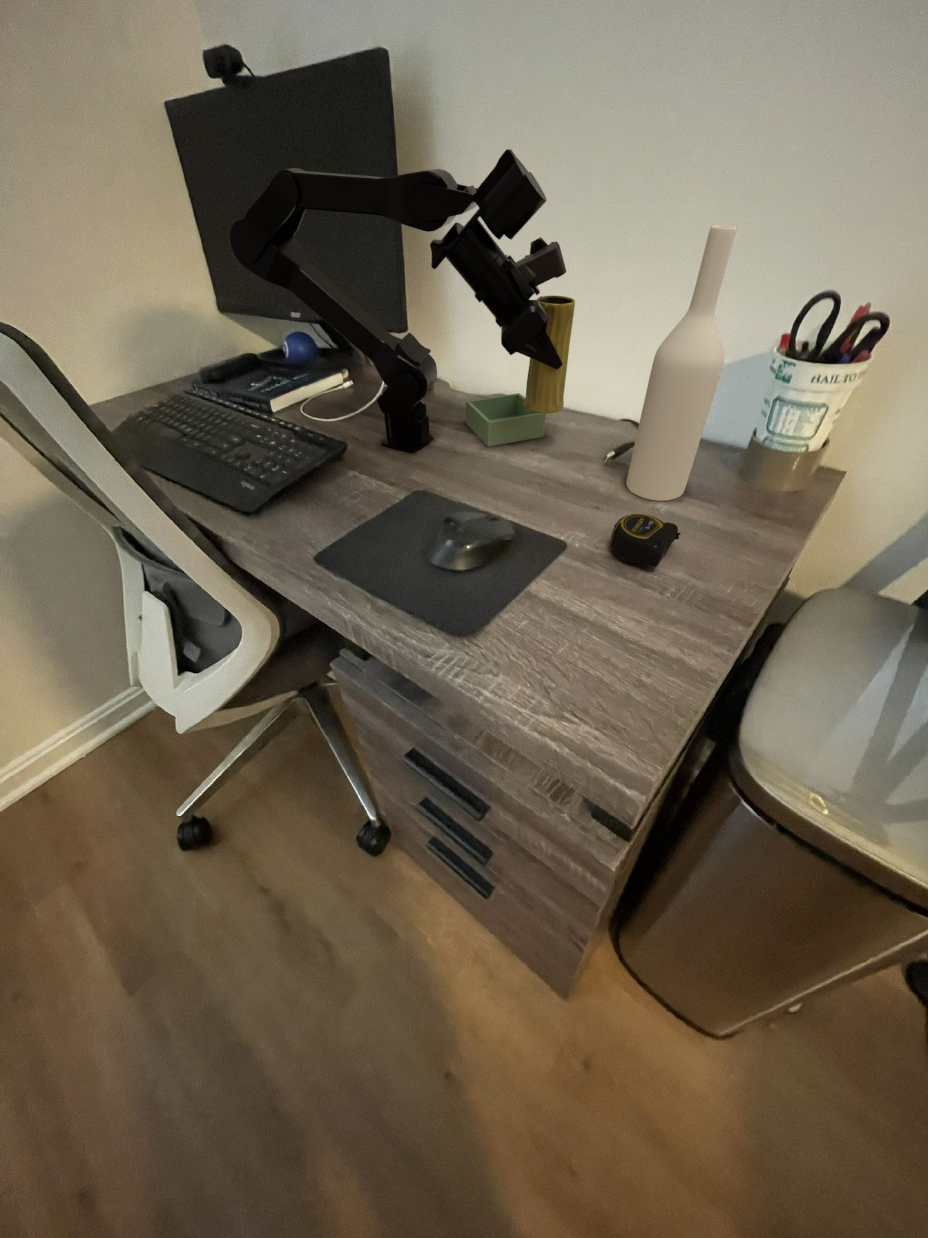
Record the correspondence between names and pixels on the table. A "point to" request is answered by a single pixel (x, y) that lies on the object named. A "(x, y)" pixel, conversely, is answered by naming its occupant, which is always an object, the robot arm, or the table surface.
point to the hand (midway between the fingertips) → (558, 360)
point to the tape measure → (643, 538)
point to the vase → (543, 379)
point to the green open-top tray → (503, 420)
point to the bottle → (682, 384)
